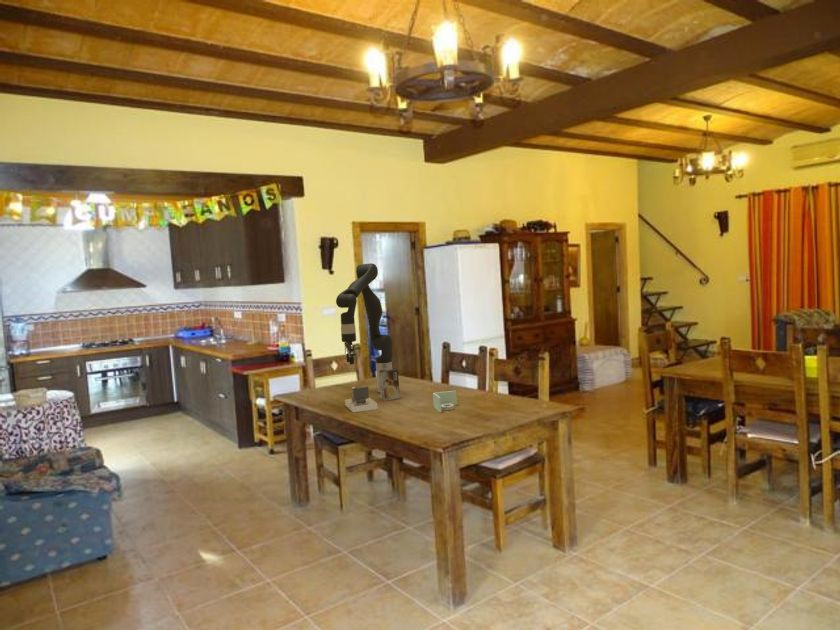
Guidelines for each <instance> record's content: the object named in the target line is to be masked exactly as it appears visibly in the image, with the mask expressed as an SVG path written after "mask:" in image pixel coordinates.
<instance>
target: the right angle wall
mask: <svg viewBox="0 0 840 630" xmlns="http://www.w3.org/2000/svg"><path fill="white" fill-rule="evenodd" d="M432 402H433V403H432V404H433V406H432V407H433V408H434V409H435V410H436V411H437V412H438V413H442V411H447V410H448V411H453V410H455V406H457V405H458V404H457V390H449V391H439V392H432Z"/></svg>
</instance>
